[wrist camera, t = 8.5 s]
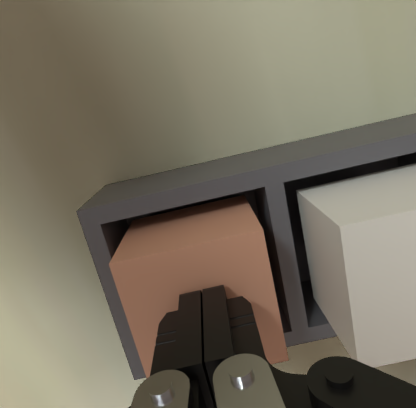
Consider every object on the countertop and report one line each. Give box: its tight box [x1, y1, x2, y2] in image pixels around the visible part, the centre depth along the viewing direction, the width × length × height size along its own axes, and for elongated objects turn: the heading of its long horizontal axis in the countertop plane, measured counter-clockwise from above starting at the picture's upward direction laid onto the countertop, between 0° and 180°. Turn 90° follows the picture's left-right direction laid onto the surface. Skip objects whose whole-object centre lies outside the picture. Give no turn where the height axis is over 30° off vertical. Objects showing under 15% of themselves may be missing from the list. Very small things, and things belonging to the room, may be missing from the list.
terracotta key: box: [109, 195, 289, 378], centre depth 14 cm, size 5×5×4 cm
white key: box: [296, 163, 416, 368], centre depth 13 cm, size 5×5×4 cm
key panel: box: [76, 113, 416, 380], centre depth 16 cm, size 22×8×4 cm, turn 103°
